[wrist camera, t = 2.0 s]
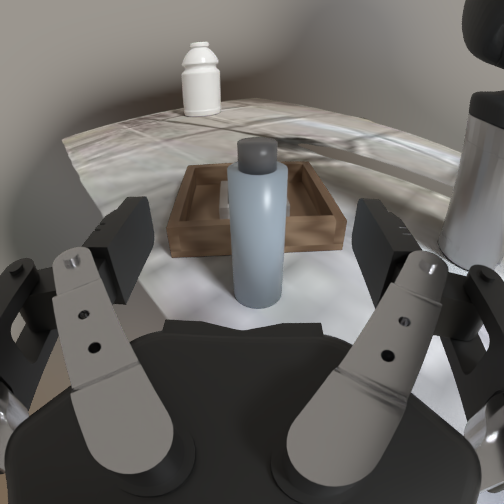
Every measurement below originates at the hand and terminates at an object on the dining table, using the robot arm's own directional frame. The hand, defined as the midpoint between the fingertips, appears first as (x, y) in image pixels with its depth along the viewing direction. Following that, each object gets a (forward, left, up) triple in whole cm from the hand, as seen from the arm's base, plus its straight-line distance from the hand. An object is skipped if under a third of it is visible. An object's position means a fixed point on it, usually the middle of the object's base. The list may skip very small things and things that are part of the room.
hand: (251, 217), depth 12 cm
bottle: (+12, -107, -14) cm, 109 cm away
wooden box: (-2, -27, -14) cm, 30 cm away
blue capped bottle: (-1, -11, -14) cm, 18 cm away
